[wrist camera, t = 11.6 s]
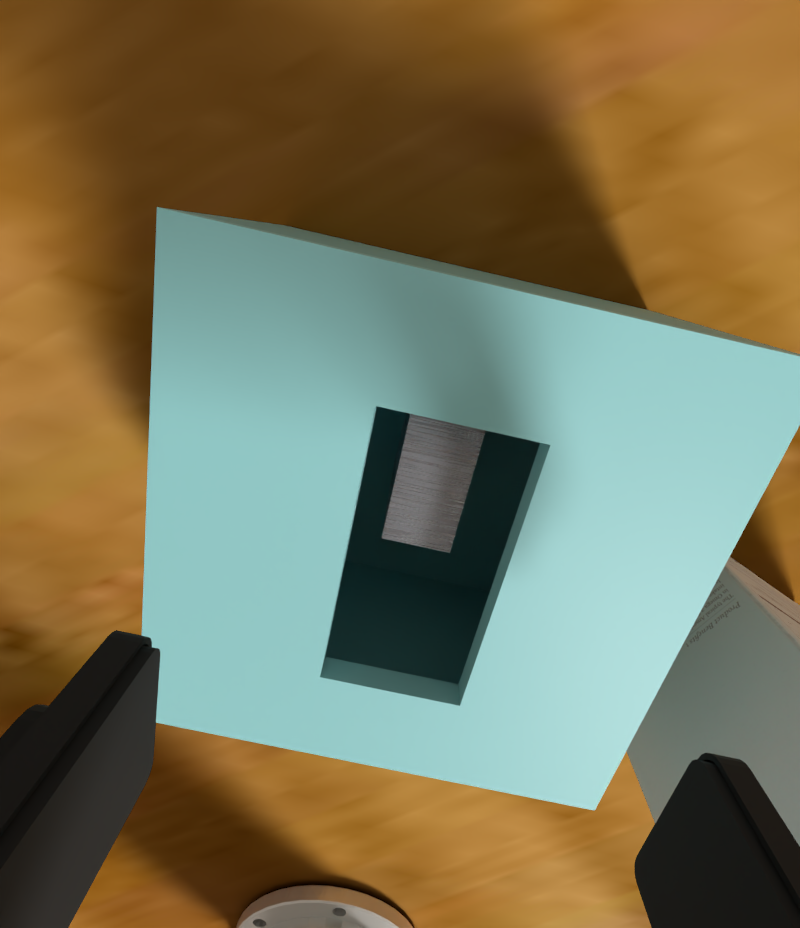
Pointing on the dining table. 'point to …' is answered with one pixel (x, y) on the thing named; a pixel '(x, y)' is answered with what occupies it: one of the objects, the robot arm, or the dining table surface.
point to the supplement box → (730, 696)
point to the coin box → (482, 519)
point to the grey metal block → (430, 481)
